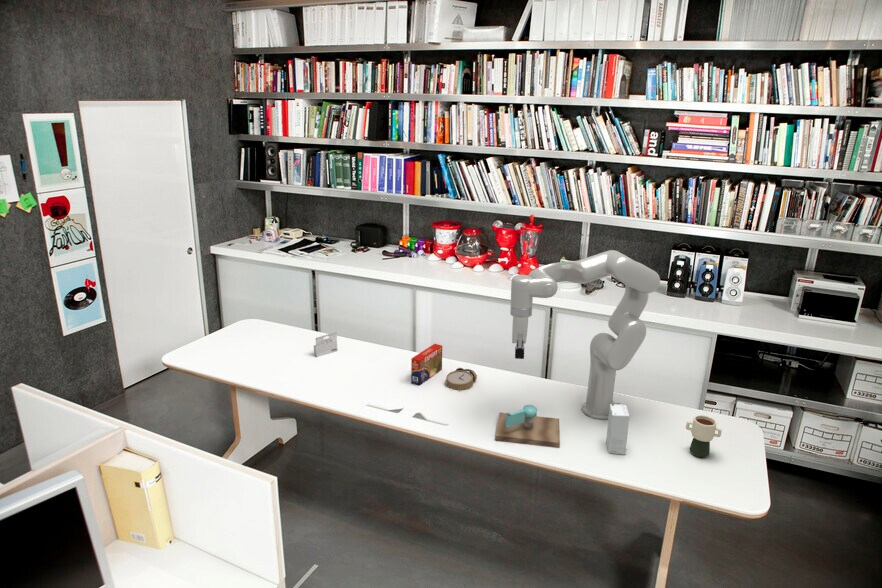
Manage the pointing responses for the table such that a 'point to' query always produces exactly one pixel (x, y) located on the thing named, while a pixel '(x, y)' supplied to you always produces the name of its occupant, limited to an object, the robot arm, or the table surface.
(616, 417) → the skincare box
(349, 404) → the table surface
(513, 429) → the post block
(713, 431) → the character mug
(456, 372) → the alarm clock
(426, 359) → the toy box
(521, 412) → the teal lever handle
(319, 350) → the ink cartridge box
